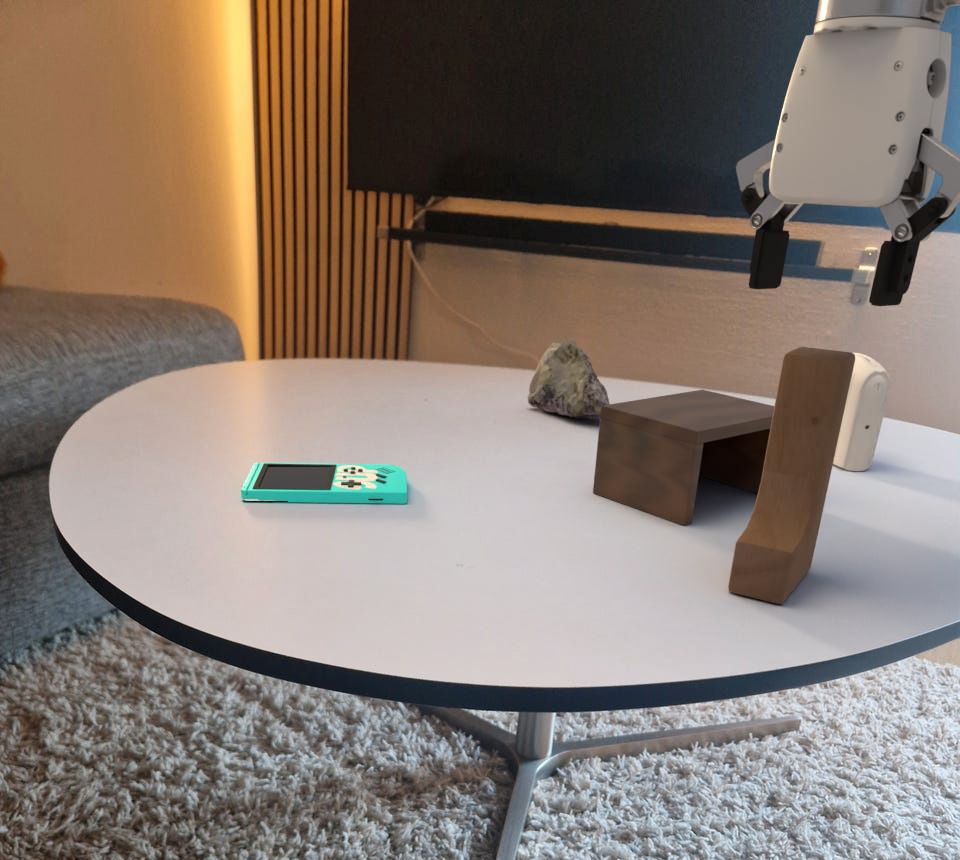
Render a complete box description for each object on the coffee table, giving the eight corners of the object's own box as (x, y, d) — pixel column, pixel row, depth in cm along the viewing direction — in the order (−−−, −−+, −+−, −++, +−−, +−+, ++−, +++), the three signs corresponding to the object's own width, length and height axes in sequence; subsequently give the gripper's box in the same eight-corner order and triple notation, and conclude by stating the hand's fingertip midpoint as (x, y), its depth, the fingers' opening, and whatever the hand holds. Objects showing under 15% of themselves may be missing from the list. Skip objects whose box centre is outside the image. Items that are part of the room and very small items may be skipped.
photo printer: (876, 471, 108) (902, 362, 102) (842, 472, 107) (866, 362, 101) (831, 448, 117) (852, 346, 111) (799, 448, 116) (819, 346, 110)
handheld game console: (407, 504, 90) (407, 491, 89) (239, 502, 89) (238, 489, 88) (406, 474, 99) (406, 462, 98) (254, 472, 98) (253, 460, 97)
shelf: (781, 497, 97) (797, 411, 93) (683, 525, 88) (697, 431, 84) (690, 469, 105) (702, 389, 101) (592, 493, 96) (601, 405, 92)
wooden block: (782, 607, 72) (831, 368, 64) (725, 593, 74) (766, 360, 66) (810, 571, 79) (857, 352, 70) (758, 559, 81) (798, 345, 73)
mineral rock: (613, 429, 121) (621, 350, 116) (530, 426, 120) (536, 346, 116) (601, 407, 132) (608, 334, 128) (525, 404, 132) (530, 331, 127)
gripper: (1047, 6, 55) (965, 310, 62) (794, 28, 67) (751, 281, 74) (991, -15, 50) (910, 315, 58) (731, 12, 62) (692, 284, 70)
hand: (821, 296), depth 66 cm, fingers open, 9 cm apart
